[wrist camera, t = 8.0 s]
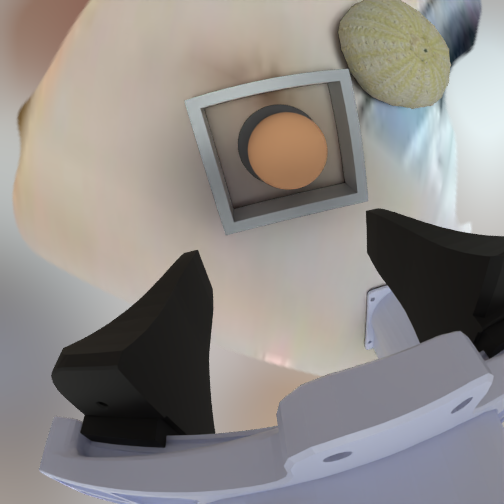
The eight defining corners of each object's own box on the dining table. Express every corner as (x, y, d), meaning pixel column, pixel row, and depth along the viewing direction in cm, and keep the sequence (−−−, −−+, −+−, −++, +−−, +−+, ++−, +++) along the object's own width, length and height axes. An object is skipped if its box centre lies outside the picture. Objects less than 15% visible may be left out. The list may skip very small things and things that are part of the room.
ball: (317, 171, 20) (344, 190, 16) (253, 185, 20) (263, 208, 16) (306, 106, 18) (332, 106, 13) (237, 120, 18) (243, 122, 13)
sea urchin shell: (386, -25, 10) (479, 23, 8) (396, 37, 17) (464, 86, 15) (305, 21, 13) (406, 79, 10) (332, 84, 20) (402, 143, 17)
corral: (355, 190, 21) (368, 201, 19) (226, 221, 22) (225, 235, 20) (335, 71, 16) (348, 68, 14) (190, 101, 17) (184, 100, 15)
